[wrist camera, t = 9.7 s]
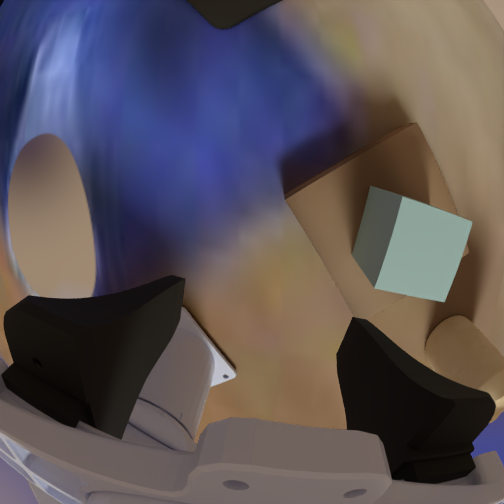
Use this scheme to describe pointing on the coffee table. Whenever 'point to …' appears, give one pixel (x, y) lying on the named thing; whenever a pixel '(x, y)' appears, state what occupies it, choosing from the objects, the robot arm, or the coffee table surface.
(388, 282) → the painted block
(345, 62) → the coffee table surface
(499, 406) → the candle
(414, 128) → the walnut base
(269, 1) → the phone
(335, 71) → the coffee table surface
